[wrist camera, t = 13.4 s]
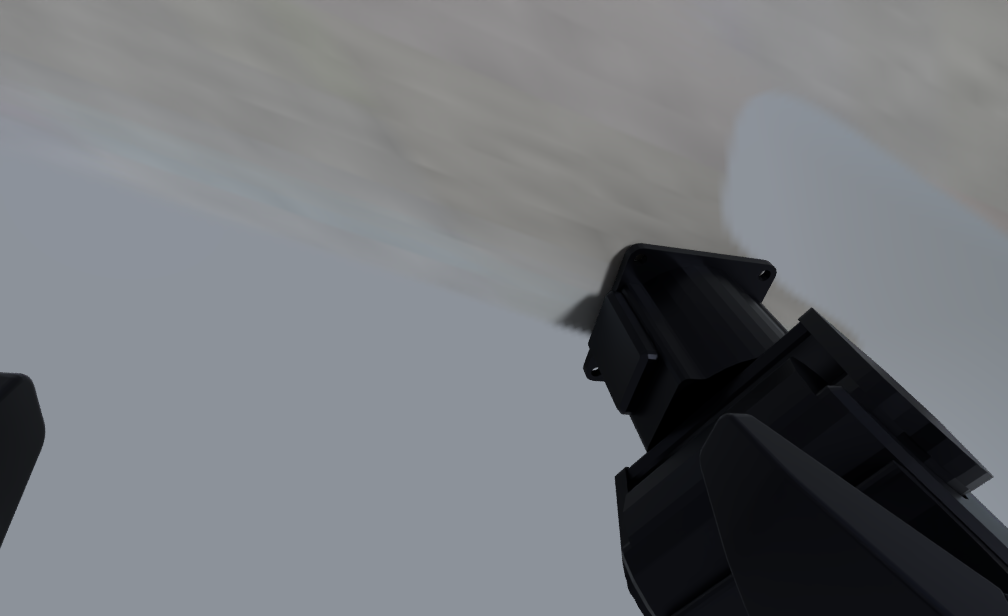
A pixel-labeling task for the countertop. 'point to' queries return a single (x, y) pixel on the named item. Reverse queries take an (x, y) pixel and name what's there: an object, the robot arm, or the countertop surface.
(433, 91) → the countertop surface
